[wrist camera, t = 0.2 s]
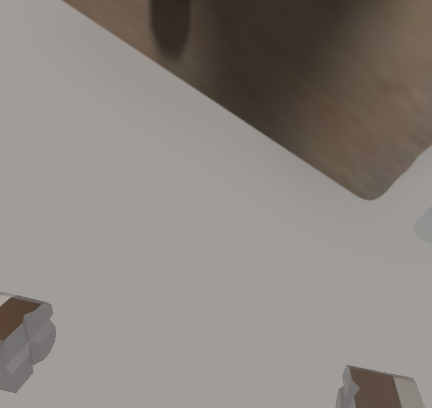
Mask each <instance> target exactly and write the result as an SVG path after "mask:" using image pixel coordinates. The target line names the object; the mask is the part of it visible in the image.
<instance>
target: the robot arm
mask: <svg viewBox="0 0 432 408" xmlns="http://www.w3.org/2000/svg"><path fill="white" fill-rule="evenodd" d="M52 315H53V311H52V306H51V304H49V303H47V302H43V301H39V300H35V299H30V298H26V297H22V296H18V295H17V296H16V295H12V294H8V293H4V292H1V293H0V390H4V391H9V392H13V393H16V392H17V391H18V390H19V389H20V387H21V386H22V385H23V384H24V383H25V381H26V380H27V379H28V378H29V377H30V375H31V374H32V373H33V365H34V364H36V363H38V362H40V361H42V360H44V359H45V357H46V356H47V355H48V354H49V352H50V351H51V349H52V346H53V344H54V342H55V337H56V330H55V326H54V324H53V323H52V322H51V320H50V317H51V316H52ZM343 383H344V386H343V387H342V388H340V389H339V391H338V395H337V400H336V408H425V407H424V404H423V401H422V398H421V395H420V392H419V390H418V387H417V384H416V382H415V381H414V379H413V378H410V377H405V376H400V375H395V374H388V373H385V372H379V371H375V370H370V369H365V368H359V367H355V366H349V365H347V366H346V368H345V370H344V373H343Z"/></svg>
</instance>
